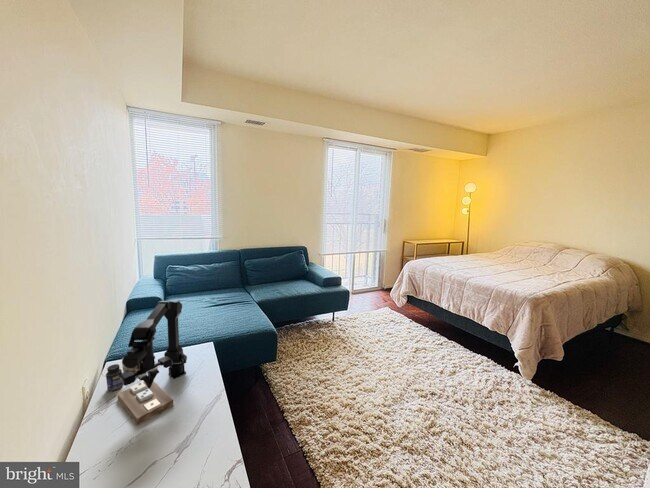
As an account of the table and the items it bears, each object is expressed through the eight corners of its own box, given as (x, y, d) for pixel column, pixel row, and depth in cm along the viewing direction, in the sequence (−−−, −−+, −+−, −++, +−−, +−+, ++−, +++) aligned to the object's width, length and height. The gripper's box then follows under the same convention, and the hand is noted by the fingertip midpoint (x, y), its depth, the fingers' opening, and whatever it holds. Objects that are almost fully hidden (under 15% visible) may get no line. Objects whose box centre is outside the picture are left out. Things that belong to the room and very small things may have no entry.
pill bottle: (114, 392, 133) (112, 371, 132) (104, 391, 134) (101, 369, 133) (126, 384, 139) (124, 364, 138) (116, 383, 140) (113, 362, 139)
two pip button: (142, 387, 135) (141, 381, 134) (146, 391, 132) (145, 385, 131) (130, 392, 131) (129, 386, 130) (134, 397, 128) (133, 391, 127)
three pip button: (149, 394, 130) (148, 388, 129) (153, 399, 127) (153, 392, 126) (136, 400, 126) (136, 393, 125) (141, 405, 123) (140, 398, 122)
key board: (151, 384, 139) (151, 378, 139) (173, 405, 125) (173, 399, 124) (118, 399, 128) (117, 393, 128) (137, 425, 114) (137, 418, 113)
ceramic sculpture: (128, 349, 155) (156, 351, 155) (129, 364, 156) (156, 365, 157) (114, 360, 145) (143, 362, 145) (115, 376, 146) (144, 377, 146)
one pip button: (156, 404, 125) (156, 398, 125) (161, 409, 122) (160, 403, 122) (144, 411, 121) (143, 404, 121) (148, 416, 118) (147, 409, 118)
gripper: (160, 340, 132) (163, 370, 134) (113, 357, 117) (117, 391, 119) (171, 347, 125) (174, 379, 127) (122, 367, 110) (126, 402, 113)
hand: (149, 387), depth 122 cm, fingers closed
